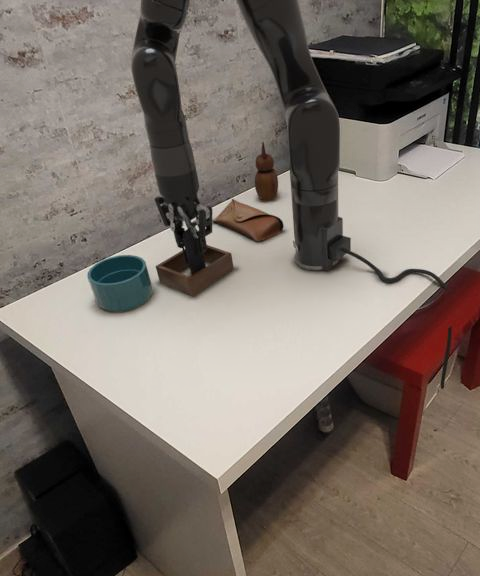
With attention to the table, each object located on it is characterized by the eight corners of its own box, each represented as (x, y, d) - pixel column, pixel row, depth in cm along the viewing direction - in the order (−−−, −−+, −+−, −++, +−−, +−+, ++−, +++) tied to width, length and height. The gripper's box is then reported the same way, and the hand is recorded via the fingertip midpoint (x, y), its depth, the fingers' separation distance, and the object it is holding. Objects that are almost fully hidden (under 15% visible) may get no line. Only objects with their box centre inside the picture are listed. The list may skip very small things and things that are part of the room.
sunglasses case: (209, 220, 130) (216, 194, 128) (229, 225, 135) (236, 199, 134) (258, 242, 120) (267, 213, 118) (278, 246, 125) (287, 218, 123)
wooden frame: (234, 269, 112) (231, 253, 110) (193, 296, 105) (189, 279, 102) (200, 257, 117) (197, 241, 115) (159, 282, 110) (155, 266, 108)
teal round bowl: (164, 291, 107) (157, 264, 103) (121, 319, 101) (111, 291, 96) (129, 276, 113) (121, 249, 109) (86, 302, 106) (75, 274, 102)
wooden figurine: (275, 203, 137) (270, 144, 127) (254, 202, 138) (247, 144, 128) (281, 192, 142) (276, 135, 132) (260, 192, 143) (254, 135, 133)
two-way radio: (208, 280, 109) (193, 212, 100) (187, 284, 109) (170, 216, 99) (206, 267, 113) (192, 201, 104) (186, 271, 113) (169, 205, 104)
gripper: (217, 166, 95) (230, 250, 106) (163, 154, 102) (181, 233, 113) (187, 181, 90) (204, 267, 101) (133, 167, 98) (154, 248, 108)
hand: (192, 249), depth 107 cm, fingers closed on two-way radio, 5 cm apart
